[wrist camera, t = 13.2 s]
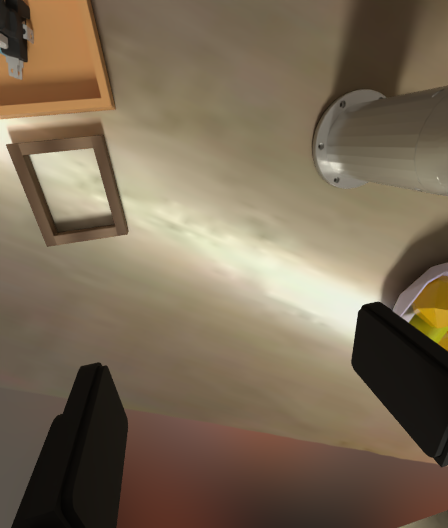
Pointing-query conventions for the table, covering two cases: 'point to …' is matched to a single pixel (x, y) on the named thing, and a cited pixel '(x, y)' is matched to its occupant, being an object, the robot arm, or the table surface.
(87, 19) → the parts tray
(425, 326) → the fruit bowl
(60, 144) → the component holder
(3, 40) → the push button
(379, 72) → the table surface
